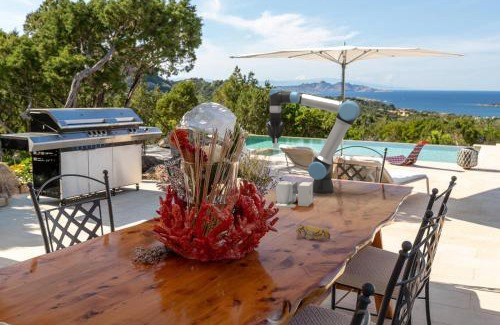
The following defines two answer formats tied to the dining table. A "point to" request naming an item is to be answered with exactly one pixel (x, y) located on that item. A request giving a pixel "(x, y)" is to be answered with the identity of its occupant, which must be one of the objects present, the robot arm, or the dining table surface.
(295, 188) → the gauge plunger
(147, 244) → the dining table surface
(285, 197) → the candle holder
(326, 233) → the crab model
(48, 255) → the dining table surface
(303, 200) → the gauge housing
